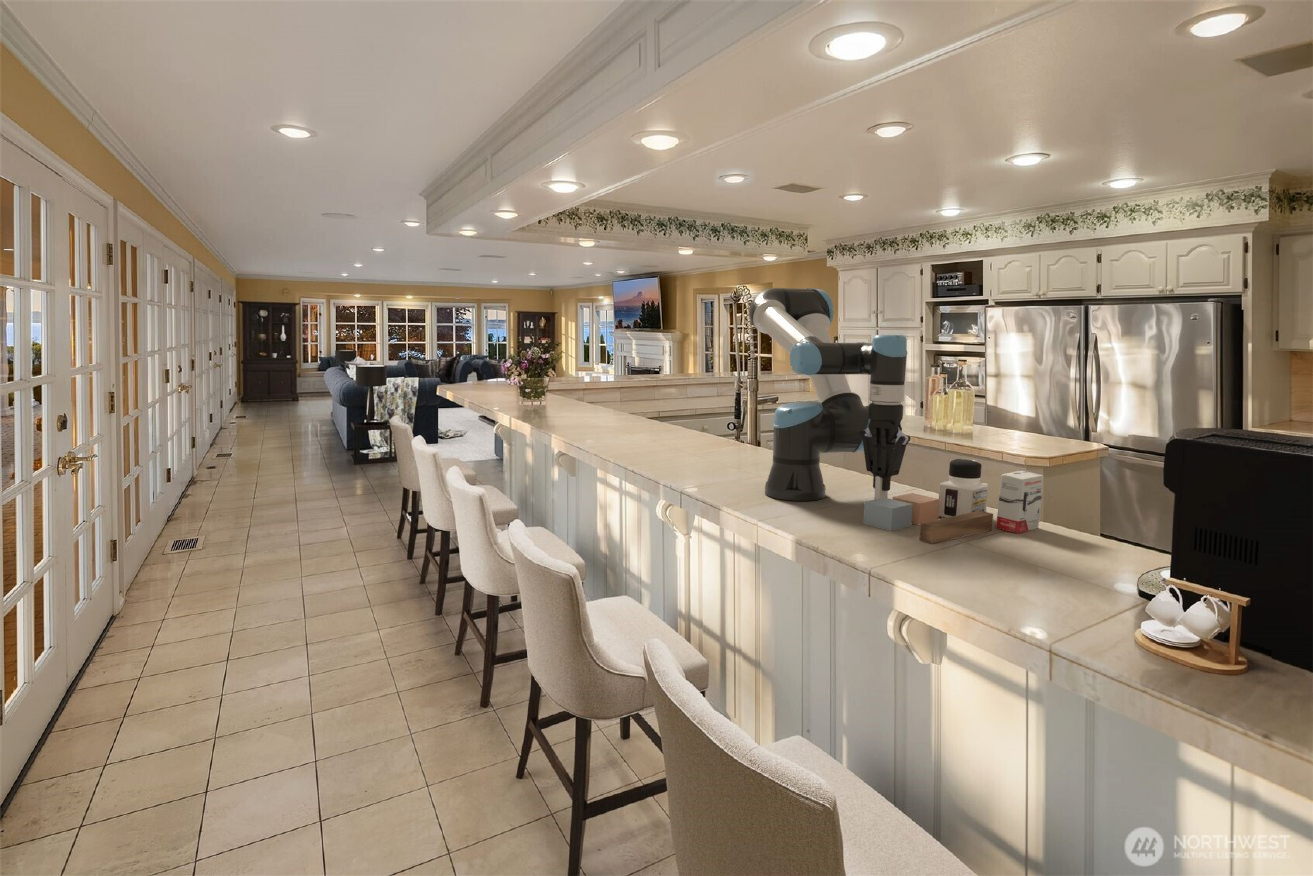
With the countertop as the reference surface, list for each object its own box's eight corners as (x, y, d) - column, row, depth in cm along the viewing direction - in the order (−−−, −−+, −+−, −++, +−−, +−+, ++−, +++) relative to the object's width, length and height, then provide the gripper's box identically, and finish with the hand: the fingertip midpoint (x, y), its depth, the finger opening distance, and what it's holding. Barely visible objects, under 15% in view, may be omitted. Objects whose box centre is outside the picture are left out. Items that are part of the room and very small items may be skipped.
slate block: (863, 524, 153) (864, 501, 152) (883, 519, 157) (884, 497, 156) (890, 531, 147) (892, 508, 146) (911, 526, 151) (912, 504, 150)
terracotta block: (891, 518, 157) (892, 496, 157) (910, 514, 161) (912, 493, 161) (918, 525, 152) (920, 503, 151) (938, 521, 156) (939, 499, 155)
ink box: (1017, 534, 146) (1022, 478, 144) (995, 528, 150) (999, 474, 148) (1039, 528, 150) (1044, 473, 148) (1017, 522, 154) (1021, 469, 153)
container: (970, 523, 154) (975, 464, 152) (936, 516, 159) (940, 459, 157) (986, 517, 159) (990, 460, 157) (952, 510, 164) (957, 455, 162)
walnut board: (919, 539, 141) (920, 522, 140) (978, 526, 151) (980, 510, 150) (932, 543, 138) (933, 526, 138) (991, 529, 148) (993, 513, 148)
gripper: (852, 401, 164) (848, 499, 168) (898, 406, 153) (892, 511, 157) (875, 399, 168) (869, 496, 172) (920, 404, 157) (914, 507, 161)
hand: (880, 503), depth 164 cm, fingers closed
